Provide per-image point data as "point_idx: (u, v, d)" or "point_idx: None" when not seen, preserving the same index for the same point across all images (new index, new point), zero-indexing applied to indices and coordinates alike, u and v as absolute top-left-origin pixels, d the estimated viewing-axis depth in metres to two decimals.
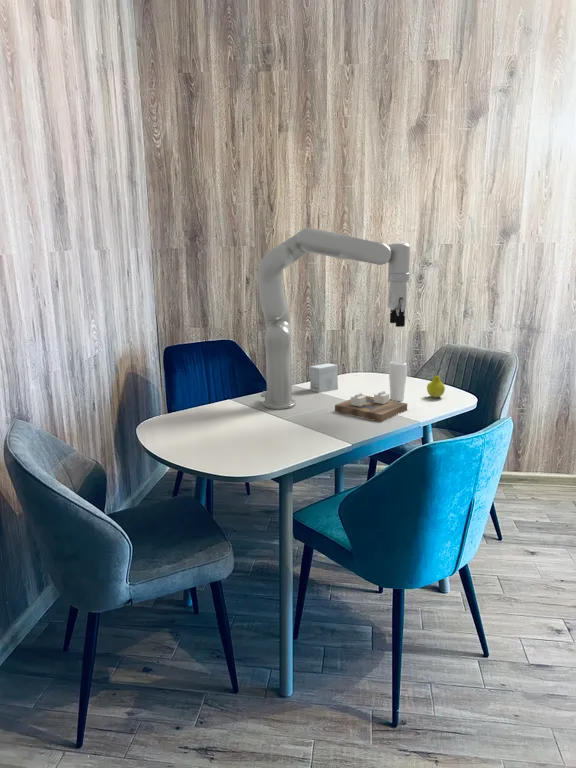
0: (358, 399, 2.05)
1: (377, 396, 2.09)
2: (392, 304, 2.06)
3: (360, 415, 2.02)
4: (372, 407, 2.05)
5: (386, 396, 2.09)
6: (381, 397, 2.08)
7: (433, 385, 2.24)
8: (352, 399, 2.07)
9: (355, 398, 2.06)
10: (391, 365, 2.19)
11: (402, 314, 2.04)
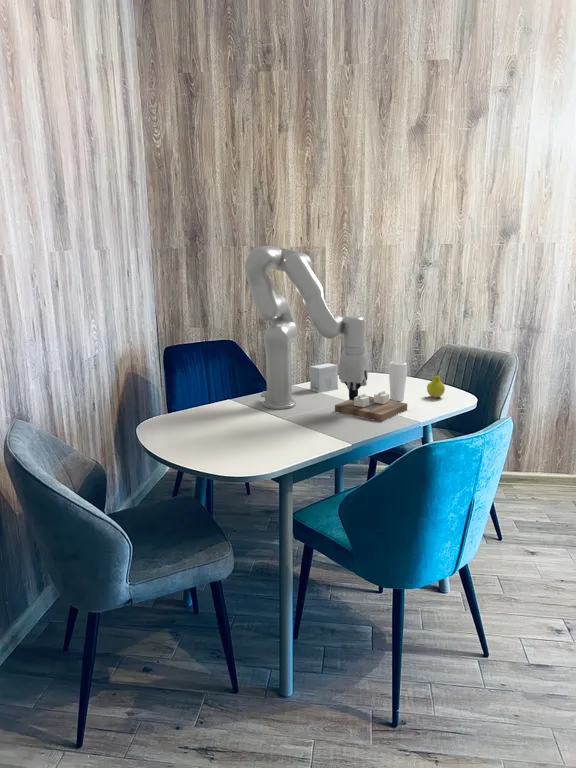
0: (361, 400, 2.04)
1: (377, 396, 2.09)
2: (357, 378, 2.03)
3: (360, 415, 2.02)
4: (372, 407, 2.05)
5: (386, 396, 2.09)
6: (381, 397, 2.08)
7: (433, 385, 2.24)
8: (355, 400, 2.06)
9: (358, 399, 2.05)
10: (391, 365, 2.19)
11: (358, 388, 2.07)
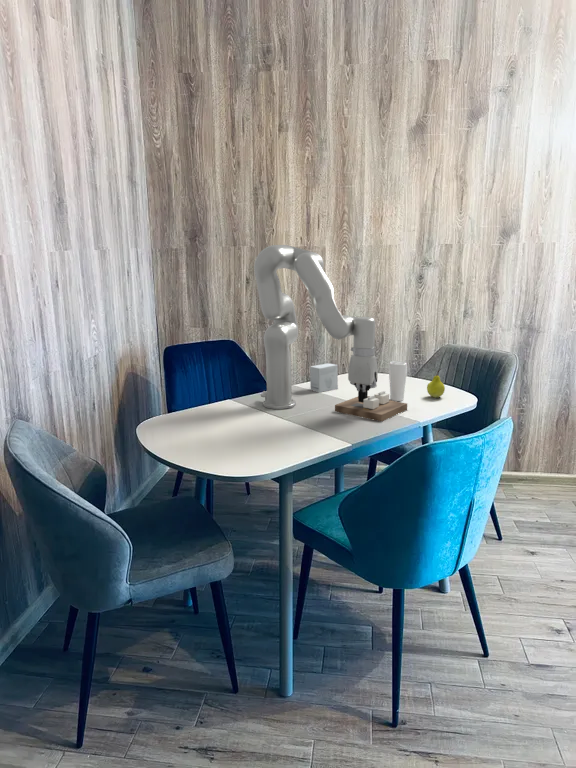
0: (371, 402, 2.02)
1: (377, 396, 2.09)
2: (367, 379, 2.00)
3: (360, 415, 2.02)
4: None
5: (386, 396, 2.09)
6: (381, 397, 2.08)
7: (432, 385, 2.24)
8: (365, 401, 2.03)
9: (368, 400, 2.03)
10: (391, 365, 2.19)
11: (368, 390, 2.05)
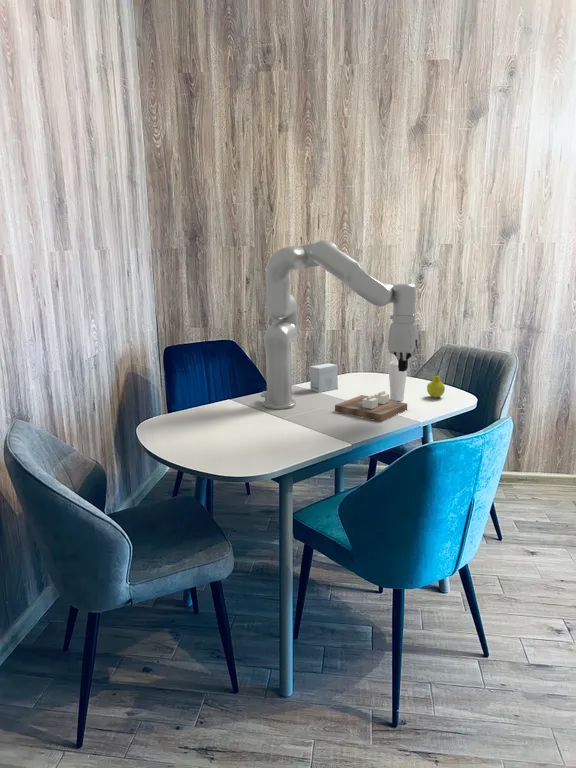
0: (370, 401, 2.02)
1: (377, 396, 2.09)
2: (408, 347, 1.96)
3: (360, 415, 2.02)
4: None
5: (386, 396, 2.09)
6: (381, 397, 2.08)
7: (433, 385, 2.24)
8: (364, 401, 2.04)
9: (367, 400, 2.03)
10: (391, 365, 2.19)
11: (408, 358, 2.00)
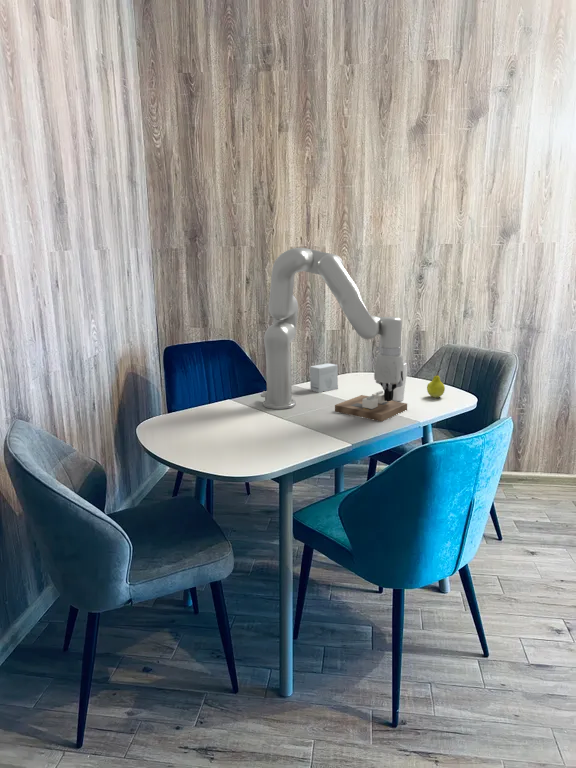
0: (370, 401, 2.02)
1: (375, 396, 2.10)
2: (393, 378, 2.02)
3: (360, 415, 2.02)
4: None
5: None
6: (379, 397, 2.09)
7: (433, 385, 2.24)
8: (364, 401, 2.04)
9: (367, 400, 2.03)
10: None
11: (394, 389, 2.07)
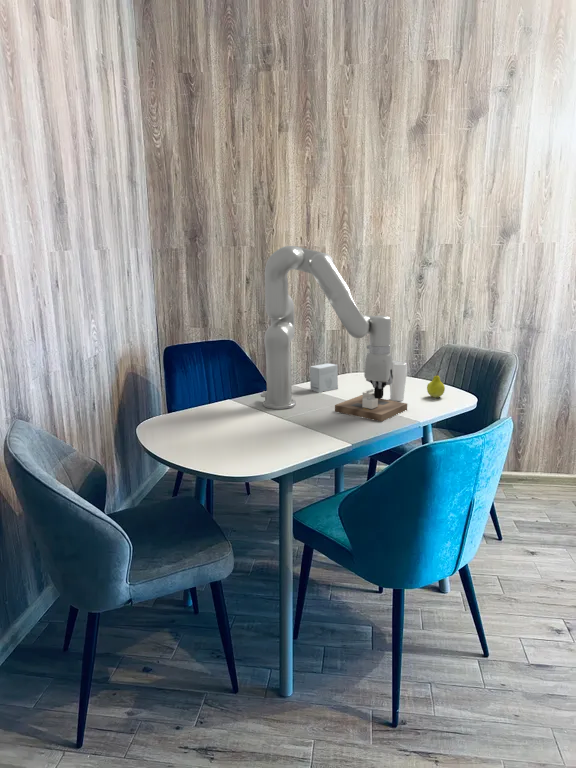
0: (370, 401, 2.02)
1: (365, 394, 2.12)
2: (383, 376, 2.05)
3: (360, 415, 2.02)
4: None
5: None
6: (369, 395, 2.11)
7: (432, 385, 2.24)
8: (364, 401, 2.04)
9: (367, 400, 2.03)
10: None
11: (384, 386, 2.09)
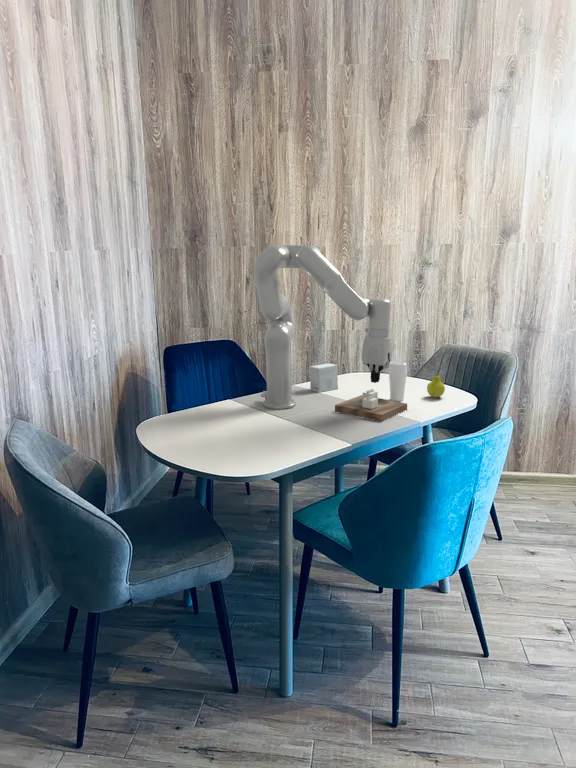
0: (370, 401, 2.02)
1: (365, 394, 2.12)
2: (380, 360, 2.04)
3: (360, 415, 2.02)
4: None
5: (374, 394, 2.12)
6: (369, 395, 2.11)
7: (433, 385, 2.24)
8: (364, 401, 2.04)
9: (367, 400, 2.03)
10: (391, 365, 2.19)
11: (380, 370, 2.08)
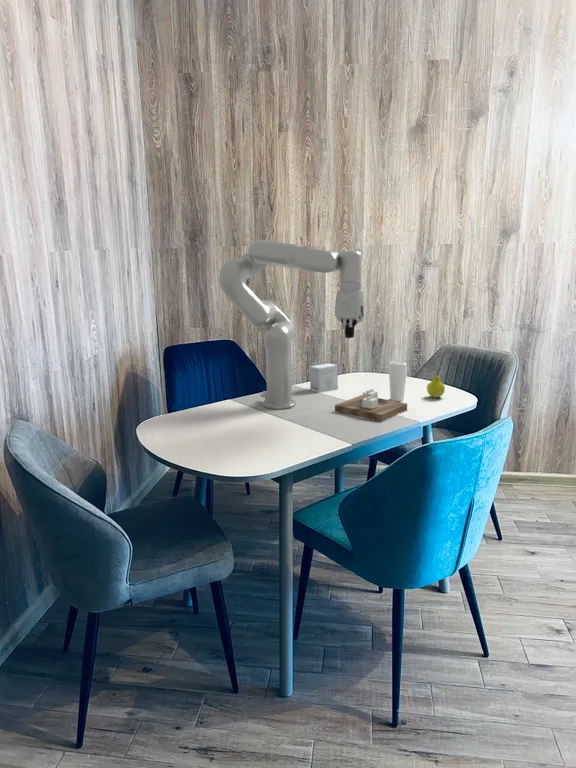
0: (370, 401, 2.02)
1: (365, 394, 2.12)
2: (353, 313, 2.00)
3: (360, 415, 2.02)
4: None
5: (374, 394, 2.12)
6: (369, 395, 2.11)
7: (433, 385, 2.24)
8: (364, 401, 2.04)
9: (367, 400, 2.03)
10: (391, 365, 2.19)
11: (354, 325, 2.04)
